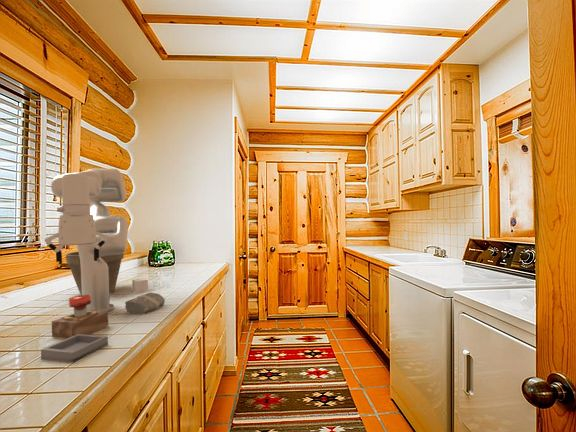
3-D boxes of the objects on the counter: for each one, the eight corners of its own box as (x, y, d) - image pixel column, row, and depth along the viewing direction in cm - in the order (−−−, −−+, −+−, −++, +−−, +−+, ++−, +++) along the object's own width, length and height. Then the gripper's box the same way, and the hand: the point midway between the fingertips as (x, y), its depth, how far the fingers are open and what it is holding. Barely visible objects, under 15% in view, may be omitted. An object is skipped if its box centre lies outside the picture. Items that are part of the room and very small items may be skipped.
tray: (41, 358, 83) (40, 349, 83) (78, 342, 93) (78, 333, 93) (73, 362, 80) (72, 352, 80) (108, 344, 91) (107, 336, 91)
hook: (65, 334, 100) (64, 299, 100) (82, 327, 106) (80, 294, 106) (80, 335, 99) (78, 299, 99) (96, 328, 105) (94, 294, 105)
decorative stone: (147, 305, 132) (146, 291, 132) (168, 305, 130) (167, 291, 130) (125, 314, 120) (124, 299, 120) (148, 315, 118) (148, 300, 118)
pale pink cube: (148, 291, 158) (147, 279, 158) (135, 293, 154) (134, 281, 154) (145, 289, 162) (144, 277, 162) (132, 291, 159) (132, 279, 159)
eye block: (52, 336, 99) (51, 319, 99) (83, 324, 109) (82, 308, 109) (79, 339, 96) (78, 321, 96) (108, 326, 106) (107, 310, 106)
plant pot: (81, 302, 139) (79, 255, 139) (58, 296, 153) (56, 253, 153) (134, 290, 160) (133, 248, 160) (110, 285, 174) (108, 247, 174)
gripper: (42, 210, 94) (44, 266, 94) (107, 209, 104) (109, 260, 104) (44, 211, 100) (46, 264, 100) (105, 210, 110) (107, 258, 110)
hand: (78, 262), depth 102 cm, fingers open, 9 cm apart
